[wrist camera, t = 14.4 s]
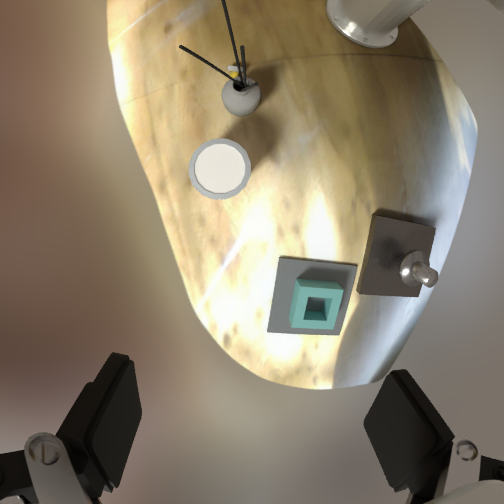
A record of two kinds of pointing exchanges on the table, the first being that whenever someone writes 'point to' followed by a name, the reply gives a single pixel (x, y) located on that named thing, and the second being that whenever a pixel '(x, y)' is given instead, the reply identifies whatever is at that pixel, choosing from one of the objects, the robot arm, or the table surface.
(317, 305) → the slate mat
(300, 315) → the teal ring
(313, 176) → the table surface
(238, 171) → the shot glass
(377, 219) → the ring stand
